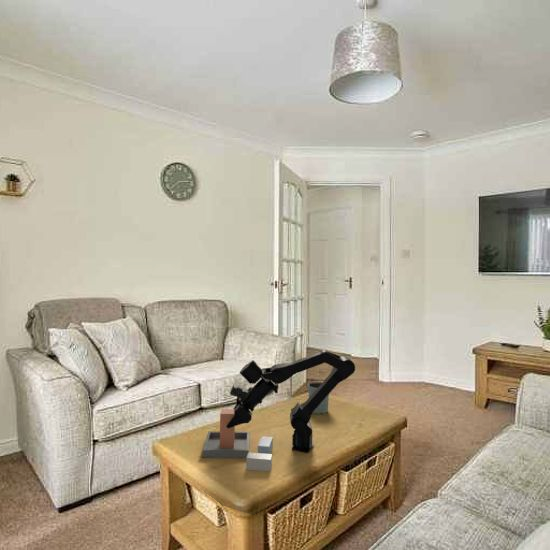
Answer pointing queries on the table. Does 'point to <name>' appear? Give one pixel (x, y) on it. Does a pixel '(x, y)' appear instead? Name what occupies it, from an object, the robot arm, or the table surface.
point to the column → (226, 429)
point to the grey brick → (259, 461)
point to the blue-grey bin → (324, 404)
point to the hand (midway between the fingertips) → (228, 422)
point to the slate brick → (265, 445)
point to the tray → (214, 450)
